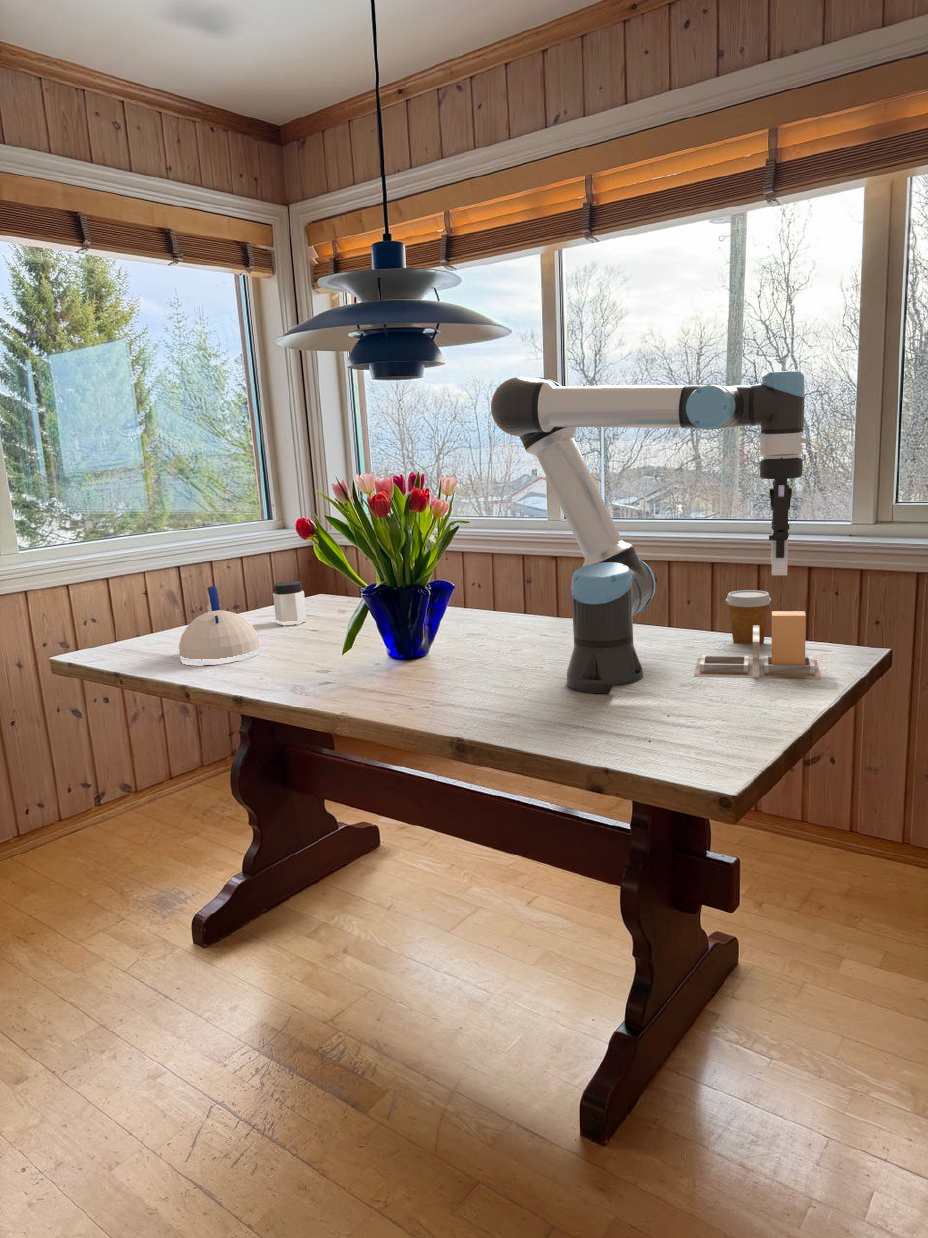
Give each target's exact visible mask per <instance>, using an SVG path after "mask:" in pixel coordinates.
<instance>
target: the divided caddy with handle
mask: <svg viewBox="0 0 928 1238" xmlns="http://www.w3.org/2000/svg"><path fill="white" fill-rule="evenodd" d="M817 660H818V659H814V657H813V656H805V665H774V664H772V655H770V656H769V655H763V658H760V644H759V625H753V644H752V658H750V657H749V655H720V654H719V655H716V654H715V655H713V654H712V655H711V654H710V655H708V654H707V655H706V654H705V655H704V654H703V655H702V654H701V657H698V658H697V661H696V665H695V669H694V673H693V677H694V678H736V679H737V678H738V679H739V678H743V679H785V680H786V679H790V680H793V679H795V680H822V676H821V672H820V669H819V665H818V661H817Z"/></svg>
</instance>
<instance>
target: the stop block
mask: <svg viewBox="0 0 928 1238" xmlns="http://www.w3.org/2000/svg"><path fill="white" fill-rule="evenodd" d="M806 620H807V618H806V612H805V610H803V611H801V610H796V611H795V610H791V611H789V610H788V611H786V610H784V611H783V610H782V611H781V610H779V611H778V610H777V611H773V610H772V611H771V656H772V664H774V665H805V657H806V633H807V632H806Z"/></svg>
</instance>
